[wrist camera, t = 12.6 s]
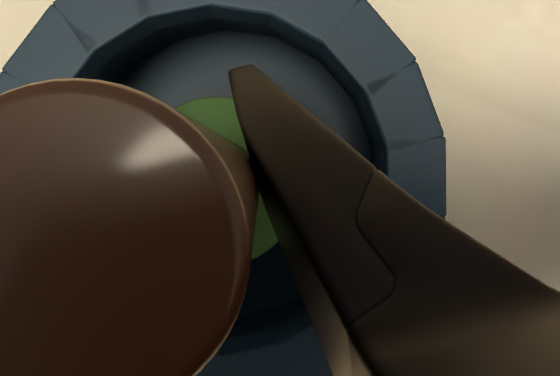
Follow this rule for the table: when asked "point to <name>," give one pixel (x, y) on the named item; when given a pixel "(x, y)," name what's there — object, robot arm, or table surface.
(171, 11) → the blue-grey hollow cylinder
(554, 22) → the table surface
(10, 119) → the sponge wand
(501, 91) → the table surface
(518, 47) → the table surface
